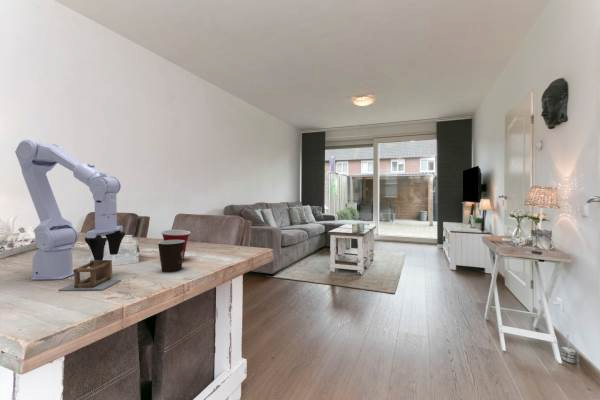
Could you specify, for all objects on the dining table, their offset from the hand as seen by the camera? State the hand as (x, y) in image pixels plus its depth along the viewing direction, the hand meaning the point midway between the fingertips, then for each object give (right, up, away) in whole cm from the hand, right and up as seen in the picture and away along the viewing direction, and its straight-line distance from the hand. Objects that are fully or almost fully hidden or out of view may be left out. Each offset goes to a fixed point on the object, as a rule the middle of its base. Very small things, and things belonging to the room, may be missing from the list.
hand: (106, 257), depth 89 cm
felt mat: (0, -7, -7) cm, 10 cm away
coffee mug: (+16, -7, +12) cm, 21 cm away
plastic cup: (+12, -6, +23) cm, 27 cm away
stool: (0, -3, -2) cm, 4 cm away
